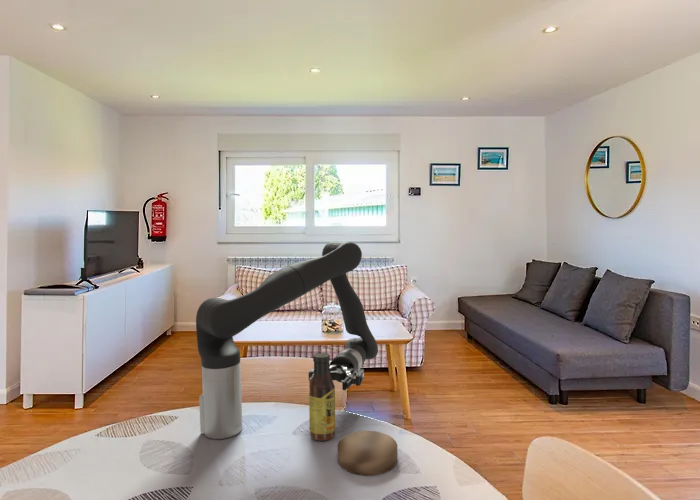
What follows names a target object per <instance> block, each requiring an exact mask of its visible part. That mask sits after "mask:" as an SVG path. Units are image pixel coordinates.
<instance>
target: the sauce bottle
mask: <svg viewBox="0 0 700 500" xmlns="http://www.w3.org/2000/svg"><path fill="white" fill-rule="evenodd" d="M330 360H331V357H330V354H329V353H327V352H318V353H314V354H313V356H312V362H313V368H314V375H313V377H312V378H311V380H310V384H309V386H308V387H309V394H308V406H309V407H308V410H309V412H308V413H309V414H308V415H309V418H308V419H309V432H310V433H309V435H310V437H311V439H312V440H314V441H319V442H324V441H329V440H332V439H333V438H334V436H335V432H336V386H335V384H334V381H333V380H332V378H331V375H330V370H329V365H330V362H331V361H330Z"/></svg>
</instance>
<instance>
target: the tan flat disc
mask: <svg viewBox="0 0 700 500" xmlns="http://www.w3.org/2000/svg"><path fill="white" fill-rule="evenodd" d="M337 462H338V465H339V466H340V467H341V468H342V469H343V470H344V471H346V472H348V473H350V474H353V475H356V476H366V477H367V476H368V477H372V476H380V475H383V474H387V473H388V472H390V471H391V470H393V469H394V468H395V467H396V465H397V463H398V444H397V441H396V440H395V438H394V437H392V436H390V435H388V434H387V433H384V432H381V431H380V432H379V431H375V430H374V431H373V430H359V431H354V432H351V433H348V434H346V435H344V436H343V437H341V438H340V439H339V441H338V442H337Z"/></svg>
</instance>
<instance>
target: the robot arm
mask: <svg viewBox="0 0 700 500" xmlns="http://www.w3.org/2000/svg"><path fill="white" fill-rule="evenodd" d="M362 257H363V252H362V249H361V247H360V246H359V245H358V244H356V243H354V242H352V241H349V240H345V241H343V240H338V241H337V240H336V241H329V242H328V243H326V244H325V245H324V247H323V249H322V252H321V256H319V257H315V258H311V259H307V260H302V261H298V262H295V263H292V264H288V265H287V266H284V267H283V268H281V269H278V270H276V271H274V272H273V273H271V274H270V275H269V276H267V277H266V278H264V280H263V281H262V282H261V283H260V284H259V285H258V286H257V287H256V288H255V289H253V290H252V291H250V292H248V293H245V294H244V295H240V296H238V297H236V298H233V299H226V298H225V299H224V298H221V297H211V298H207V299H205V300H204V301H202V303H201V304H200V305H199V307H198V308H197V312H196V316H195V329H196V330H195V331H196V341H197V342H196V343H197V344H196V345H197V351H198V354H199V357H200V361H201V378H202V379H201V381H202V383H201V387H202V394H200V395H199V396H198V398H199V399H198V401H199V402H198V403H199V427H200V434H202V435H204V436H205V437H206V438H207V439H208V438H209V439H213V440H222V439H228V438H231V437H234V436H236V435H238V434H240V433H241V431H242V430H243V405H242V403H243V401H242V371H241V369H242V368H241V352H240V349H239V348H238V346H237V345H236V343H235V340H234V337H235V336H237V335H238V334H240V333H241V332H243V331H244V330H245V329H247V328H249V327H250V326H251V325H253V324H255V322H257V321H259V320H260V319H261V318H263V317H264V316H267V315H269V314H270V313H272V312H274V311H277V310H278V309H279V308H281V307H284V306H286V305H287V304H289V303H292V302H293V301H295V300H298V299H299V298H300V297H302V296H304V295H306V294H307V293H309V292H311V291H313V290H314V289H316V288H318V287H320V286H322V285H323V284H325V283H326V282H329V281H330V282H331V285H332V287H333V290H334V292H335V296H336V298H337V300H338V304H339V307H340V311H341V314H342V319H343V323H344V327H345V331H346V332H347V333H348V334H349V335H354V336H358V337H355V338H354V337H353V338H349V339H347V340H346V342H345V344H344V345H345V346H344V349H343V350H341V351H340V352H339V353H338V354H337V355H336V356H335V357H333V359H332V360H331V361H330V362H329V370H330V375H331V378H332V380H333V382H335V381H336V382H337V383H342V385H341V387H342V389H341V390H342V391H347V389H350V387H353V385H355V386H356V387H357V386H361V385H362V383H363V380H364V379H365V370H364V368H362V366H363V365H364V363H365V362H366V360H374V359H375V358H376V357H377V355H378V353H379V347H378V346H379V345H378V342H377V341H376V338H375V336H374V335H373V333H372V332H371V330H370V327H369V325H368V322H367V318H366V314H365V313H366V312H365V309H364V307H363V303H362V301H361V299H360V298H359V296H358V294H357V293H356V291H355V290H354V288H353V286H352V285H351V283H350V281H349V279H348V275H347V273H350V272H352V271H354V270H356V269H357V267H359V265H360V263H361V262H362ZM313 375H314V367H312V368H311V369H310V370H308V383H309V385H310V380H311V378H312V377H313Z"/></svg>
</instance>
